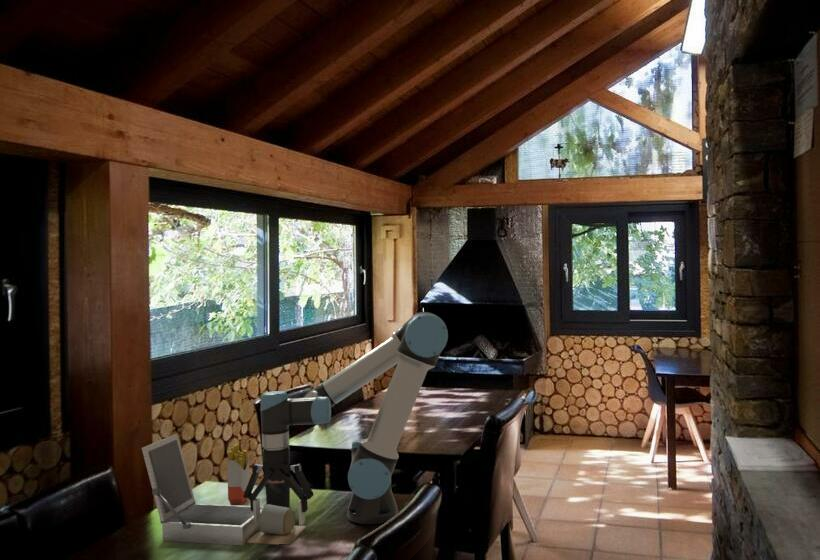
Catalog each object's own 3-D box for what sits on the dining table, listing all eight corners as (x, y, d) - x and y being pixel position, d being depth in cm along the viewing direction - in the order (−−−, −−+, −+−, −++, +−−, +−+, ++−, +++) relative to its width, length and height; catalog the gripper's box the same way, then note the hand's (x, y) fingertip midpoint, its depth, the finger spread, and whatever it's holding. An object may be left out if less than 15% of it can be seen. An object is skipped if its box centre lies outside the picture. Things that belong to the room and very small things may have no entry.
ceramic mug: (285, 539, 189) (285, 510, 189) (258, 536, 191) (258, 508, 192) (301, 526, 199) (301, 499, 200) (276, 524, 202) (275, 497, 202)
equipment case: (268, 523, 204) (266, 435, 204) (240, 547, 186) (238, 450, 186) (176, 519, 210) (174, 433, 210) (140, 541, 192) (138, 448, 192)
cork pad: (306, 528, 199) (306, 526, 199) (289, 545, 187) (289, 542, 187) (267, 526, 202) (267, 524, 202) (247, 542, 189) (247, 540, 189)
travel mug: (295, 505, 220) (293, 442, 220) (278, 512, 213) (277, 448, 213) (277, 502, 224) (276, 440, 224) (260, 509, 217) (259, 445, 218)
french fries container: (251, 496, 231) (250, 442, 231) (242, 506, 220) (240, 450, 220) (237, 496, 231) (236, 442, 231) (228, 506, 220) (226, 450, 220)
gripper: (322, 444, 195) (325, 519, 195) (241, 443, 201) (244, 517, 200) (313, 450, 188) (316, 528, 188) (229, 450, 193) (232, 526, 193)
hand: (279, 523), depth 194 cm, fingers open, 13 cm apart
